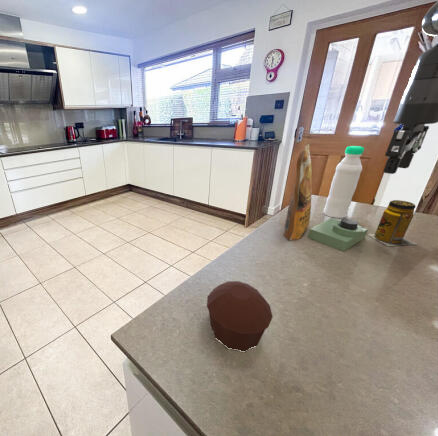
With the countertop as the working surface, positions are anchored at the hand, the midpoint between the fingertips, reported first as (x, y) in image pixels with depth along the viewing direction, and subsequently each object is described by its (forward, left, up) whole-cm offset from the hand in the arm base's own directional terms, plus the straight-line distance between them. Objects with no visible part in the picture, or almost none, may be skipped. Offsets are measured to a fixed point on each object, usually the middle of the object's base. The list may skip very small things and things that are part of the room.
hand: (395, 170), depth 61 cm
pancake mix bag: (+10, -17, -22) cm, 29 cm away
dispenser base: (+4, -7, -22) cm, 23 cm away
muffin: (+57, 0, -22) cm, 61 cm away
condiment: (-7, +3, -22) cm, 24 cm away
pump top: (+4, -4, -18) cm, 19 cm away
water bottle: (-14, -15, -22) cm, 30 cm away
